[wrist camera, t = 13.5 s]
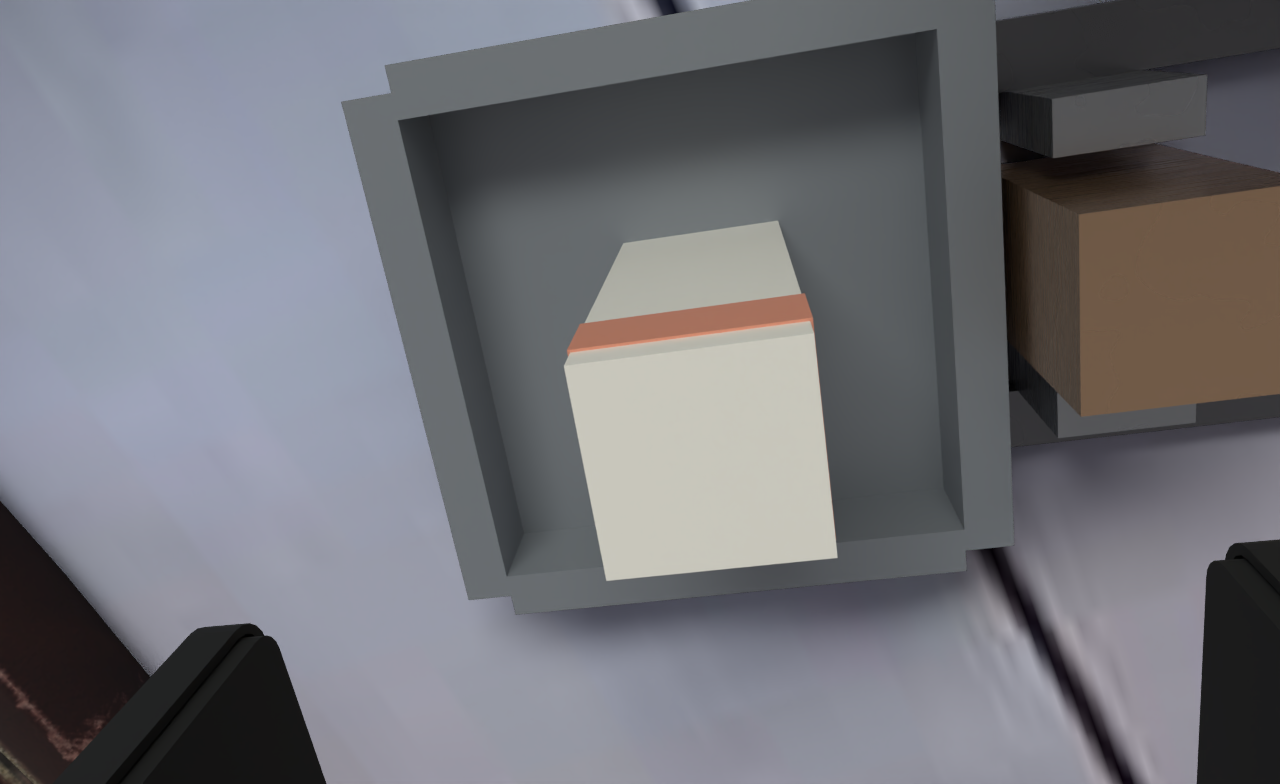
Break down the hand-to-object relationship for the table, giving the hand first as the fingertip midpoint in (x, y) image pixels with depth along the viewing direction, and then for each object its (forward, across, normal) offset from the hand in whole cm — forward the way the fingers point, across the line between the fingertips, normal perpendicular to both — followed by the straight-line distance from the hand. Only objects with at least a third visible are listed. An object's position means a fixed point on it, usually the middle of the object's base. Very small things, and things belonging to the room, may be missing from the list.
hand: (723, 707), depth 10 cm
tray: (+17, +1, 0) cm, 17 cm away
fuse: (+16, +1, 0) cm, 16 cm away
